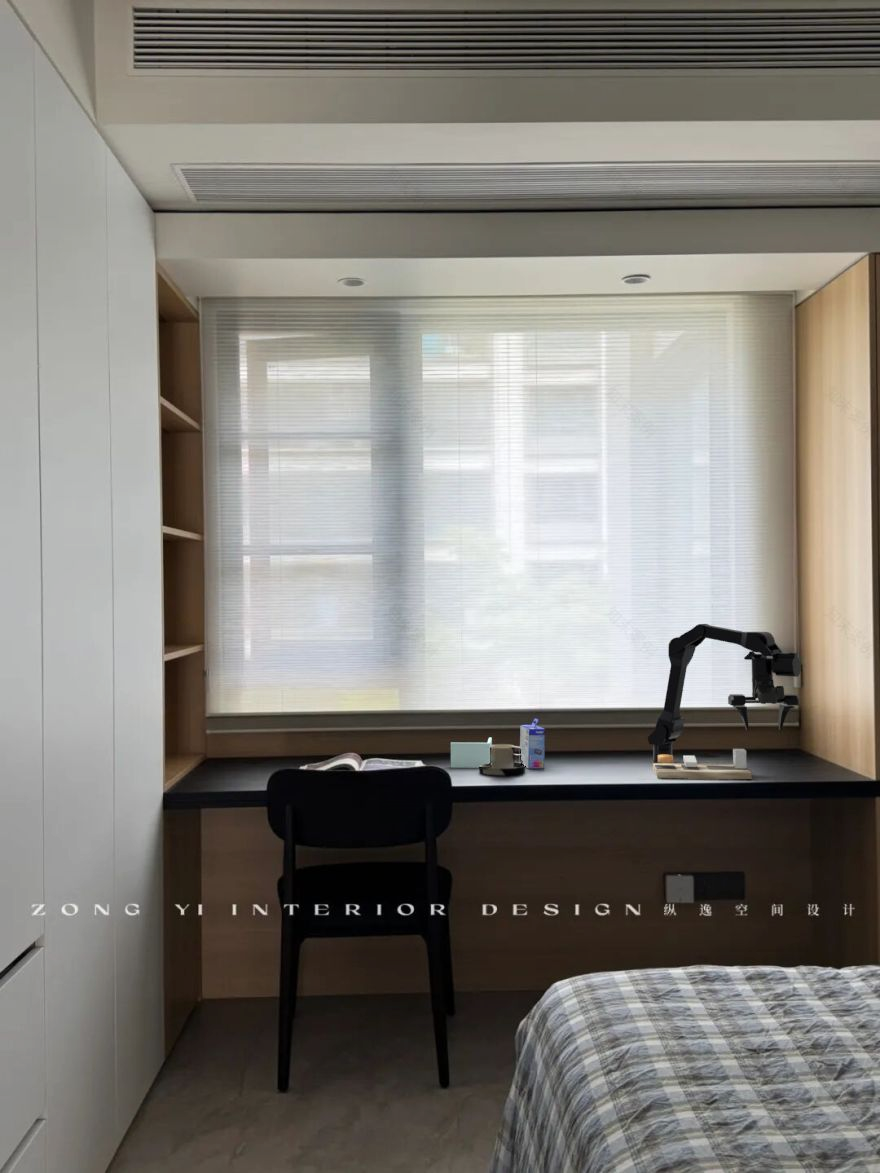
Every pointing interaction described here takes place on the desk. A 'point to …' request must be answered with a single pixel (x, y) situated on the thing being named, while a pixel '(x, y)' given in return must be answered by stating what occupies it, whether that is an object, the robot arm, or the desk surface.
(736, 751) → the metal slider
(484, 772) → the desk surface
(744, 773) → the control panel
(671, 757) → the orange button
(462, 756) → the right angle wall
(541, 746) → the ink cartridge box
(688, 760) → the block
